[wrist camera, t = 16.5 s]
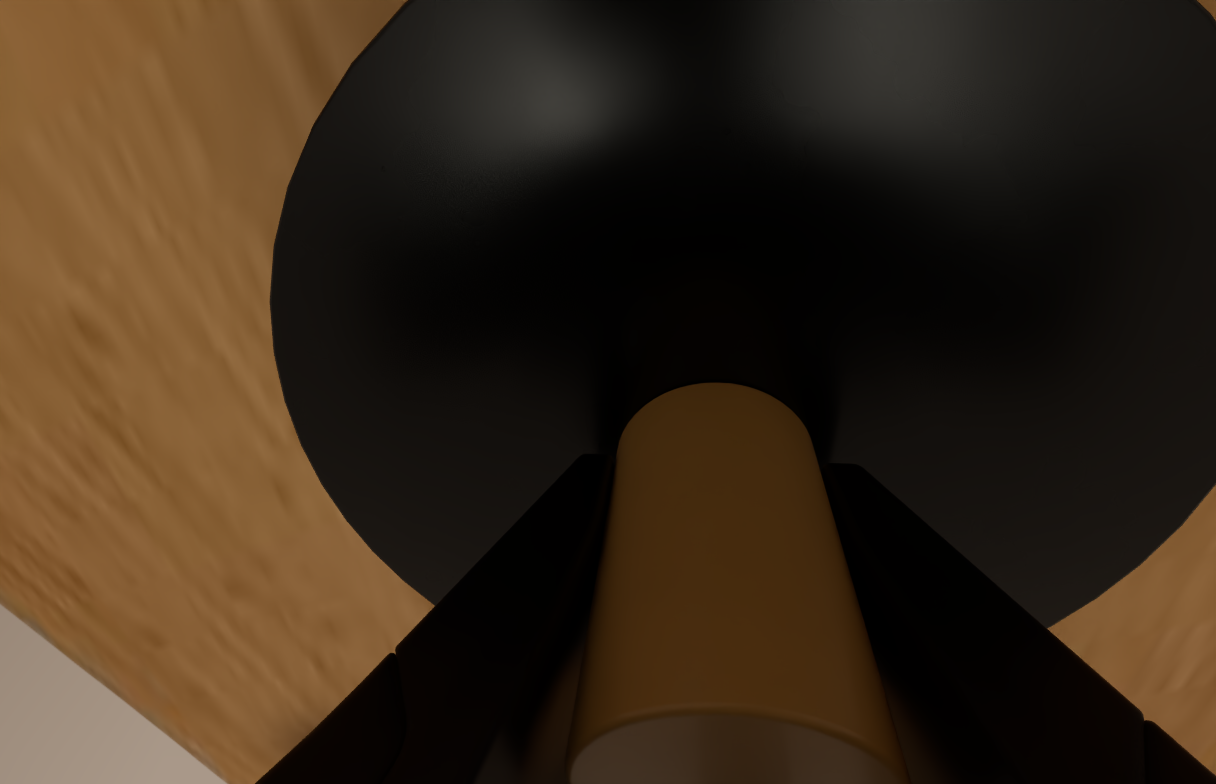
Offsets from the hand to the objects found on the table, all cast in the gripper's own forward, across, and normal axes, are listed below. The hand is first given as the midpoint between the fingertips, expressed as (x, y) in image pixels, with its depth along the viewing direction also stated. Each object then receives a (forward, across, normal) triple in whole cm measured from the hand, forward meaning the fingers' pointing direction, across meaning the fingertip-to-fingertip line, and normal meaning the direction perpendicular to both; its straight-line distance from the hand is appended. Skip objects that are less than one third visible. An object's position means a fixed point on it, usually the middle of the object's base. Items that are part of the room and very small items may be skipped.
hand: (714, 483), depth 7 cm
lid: (+1, 0, 0) cm, 1 cm away
